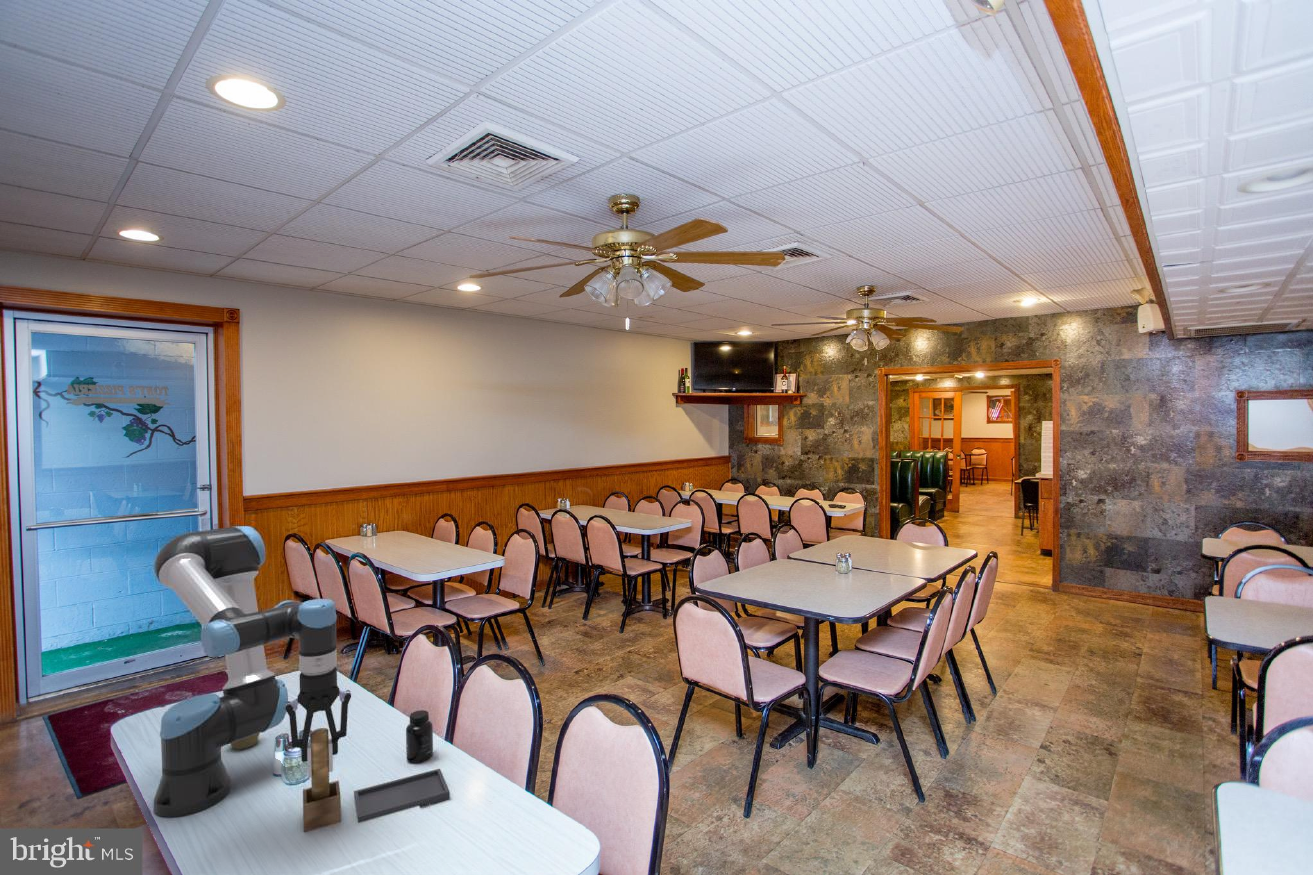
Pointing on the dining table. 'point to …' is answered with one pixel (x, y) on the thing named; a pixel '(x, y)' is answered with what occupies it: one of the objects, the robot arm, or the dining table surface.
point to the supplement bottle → (419, 737)
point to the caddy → (321, 808)
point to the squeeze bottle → (245, 742)
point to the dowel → (320, 764)
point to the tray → (401, 795)
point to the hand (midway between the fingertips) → (320, 771)
